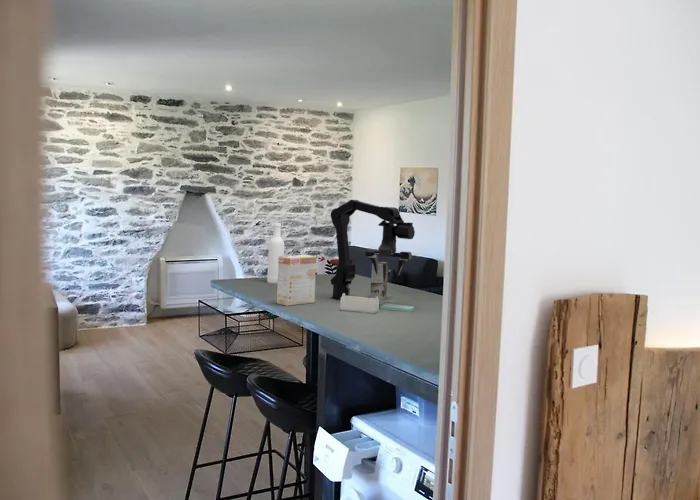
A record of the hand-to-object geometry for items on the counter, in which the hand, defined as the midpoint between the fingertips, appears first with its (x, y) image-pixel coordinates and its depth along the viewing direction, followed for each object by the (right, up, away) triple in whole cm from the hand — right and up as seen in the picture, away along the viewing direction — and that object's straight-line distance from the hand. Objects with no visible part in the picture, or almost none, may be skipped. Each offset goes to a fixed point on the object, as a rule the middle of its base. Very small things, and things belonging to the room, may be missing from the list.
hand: (387, 274), depth 256 cm
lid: (+4, -14, -4) cm, 15 cm away
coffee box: (-3, -11, +21) cm, 24 cm away
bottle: (-53, -6, +52) cm, 75 cm away
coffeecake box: (-38, -12, -4) cm, 40 cm away
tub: (-12, -14, -14) cm, 23 cm away
